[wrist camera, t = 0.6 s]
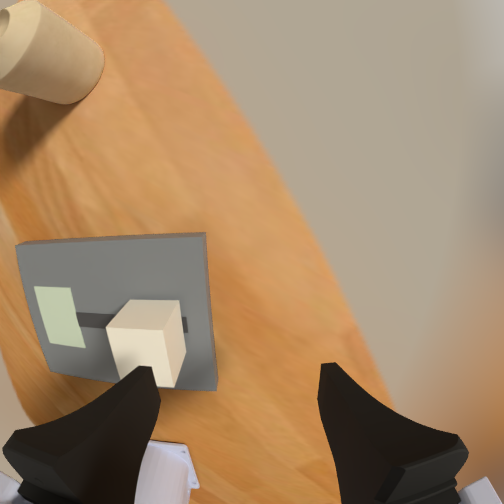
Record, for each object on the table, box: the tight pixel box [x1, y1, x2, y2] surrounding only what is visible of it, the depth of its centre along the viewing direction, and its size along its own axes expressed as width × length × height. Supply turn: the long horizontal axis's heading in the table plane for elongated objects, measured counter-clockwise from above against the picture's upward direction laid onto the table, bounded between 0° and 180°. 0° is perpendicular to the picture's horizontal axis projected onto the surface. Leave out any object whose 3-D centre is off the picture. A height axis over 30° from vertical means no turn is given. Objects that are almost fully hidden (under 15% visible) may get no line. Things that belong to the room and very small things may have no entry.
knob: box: [106, 300, 186, 388], centre depth 17 cm, size 4×4×4 cm
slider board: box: [15, 232, 218, 391], centre depth 20 cm, size 12×16×2 cm
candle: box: [0, 0, 105, 104], centre depth 12 cm, size 6×6×10 cm
